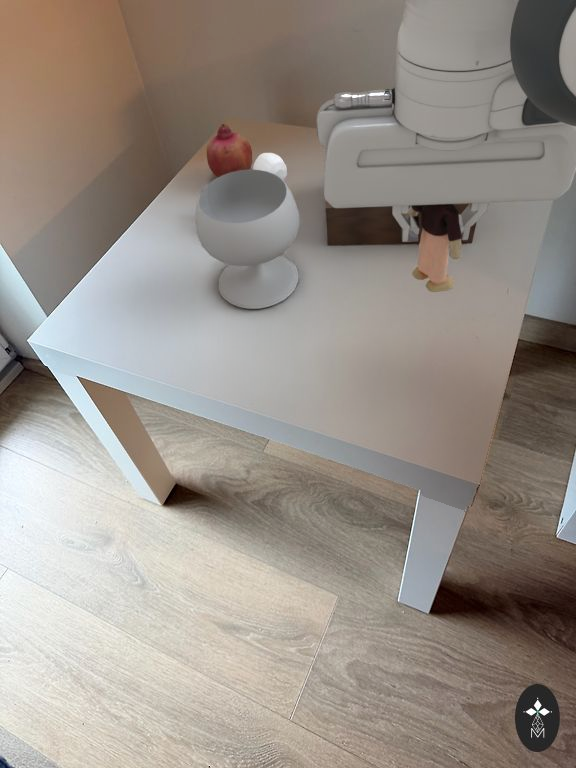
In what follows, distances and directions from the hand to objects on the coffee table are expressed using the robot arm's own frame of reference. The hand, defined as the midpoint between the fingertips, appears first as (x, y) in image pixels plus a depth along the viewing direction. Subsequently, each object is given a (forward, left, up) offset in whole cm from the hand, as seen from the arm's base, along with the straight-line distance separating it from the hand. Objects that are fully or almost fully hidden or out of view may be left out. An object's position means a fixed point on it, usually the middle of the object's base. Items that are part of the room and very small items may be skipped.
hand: (434, 237), depth 51 cm
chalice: (+22, -17, -22) cm, 36 cm away
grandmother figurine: (0, 0, -5) cm, 5 cm away
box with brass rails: (+1, -33, -22) cm, 40 cm away
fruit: (+30, -44, -22) cm, 58 cm away
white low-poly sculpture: (+25, -33, -22) cm, 47 cm away
